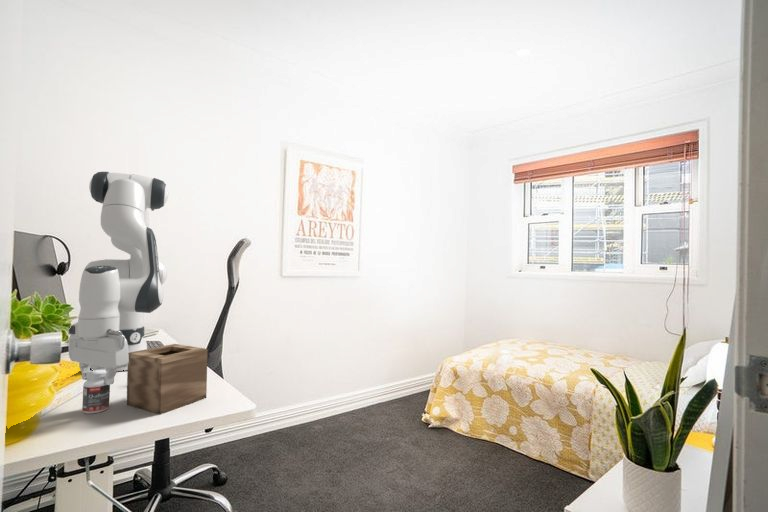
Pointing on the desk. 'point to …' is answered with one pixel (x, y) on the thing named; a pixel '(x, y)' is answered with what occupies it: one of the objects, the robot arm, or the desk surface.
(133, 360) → the slot box
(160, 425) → the desk surface
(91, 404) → the pill bottle
